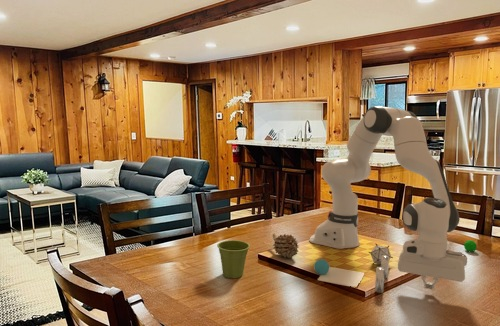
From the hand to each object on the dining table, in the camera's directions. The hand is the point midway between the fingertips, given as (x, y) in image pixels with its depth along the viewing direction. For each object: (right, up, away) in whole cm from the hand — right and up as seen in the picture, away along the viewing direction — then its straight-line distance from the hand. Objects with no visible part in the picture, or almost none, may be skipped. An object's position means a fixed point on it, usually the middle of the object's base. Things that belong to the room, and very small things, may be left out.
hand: (429, 288), depth 132 cm
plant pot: (-66, +1, +13) cm, 67 cm away
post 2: (-11, 0, +12) cm, 16 cm away
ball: (-33, +3, +15) cm, 36 cm away
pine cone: (-46, +3, +35) cm, 58 cm away
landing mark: (-26, 0, +13) cm, 29 cm away
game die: (-8, +1, +25) cm, 26 cm away
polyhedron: (+37, +3, +42) cm, 56 cm away
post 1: (-16, -1, +1) cm, 16 cm away
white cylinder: (+20, +2, +34) cm, 39 cm away
